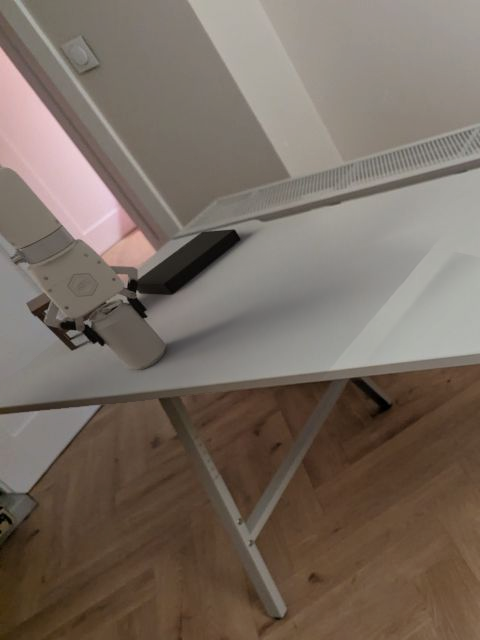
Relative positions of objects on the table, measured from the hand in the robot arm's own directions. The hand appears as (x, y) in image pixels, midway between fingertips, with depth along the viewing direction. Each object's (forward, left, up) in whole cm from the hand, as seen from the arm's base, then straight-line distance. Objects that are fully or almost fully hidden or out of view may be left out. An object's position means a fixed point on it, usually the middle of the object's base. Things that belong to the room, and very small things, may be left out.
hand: (123, 329), depth 97 cm
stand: (-5, +33, -7) cm, 34 cm away
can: (0, 0, -7) cm, 7 cm away
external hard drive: (+21, +34, -7) cm, 41 cm away
